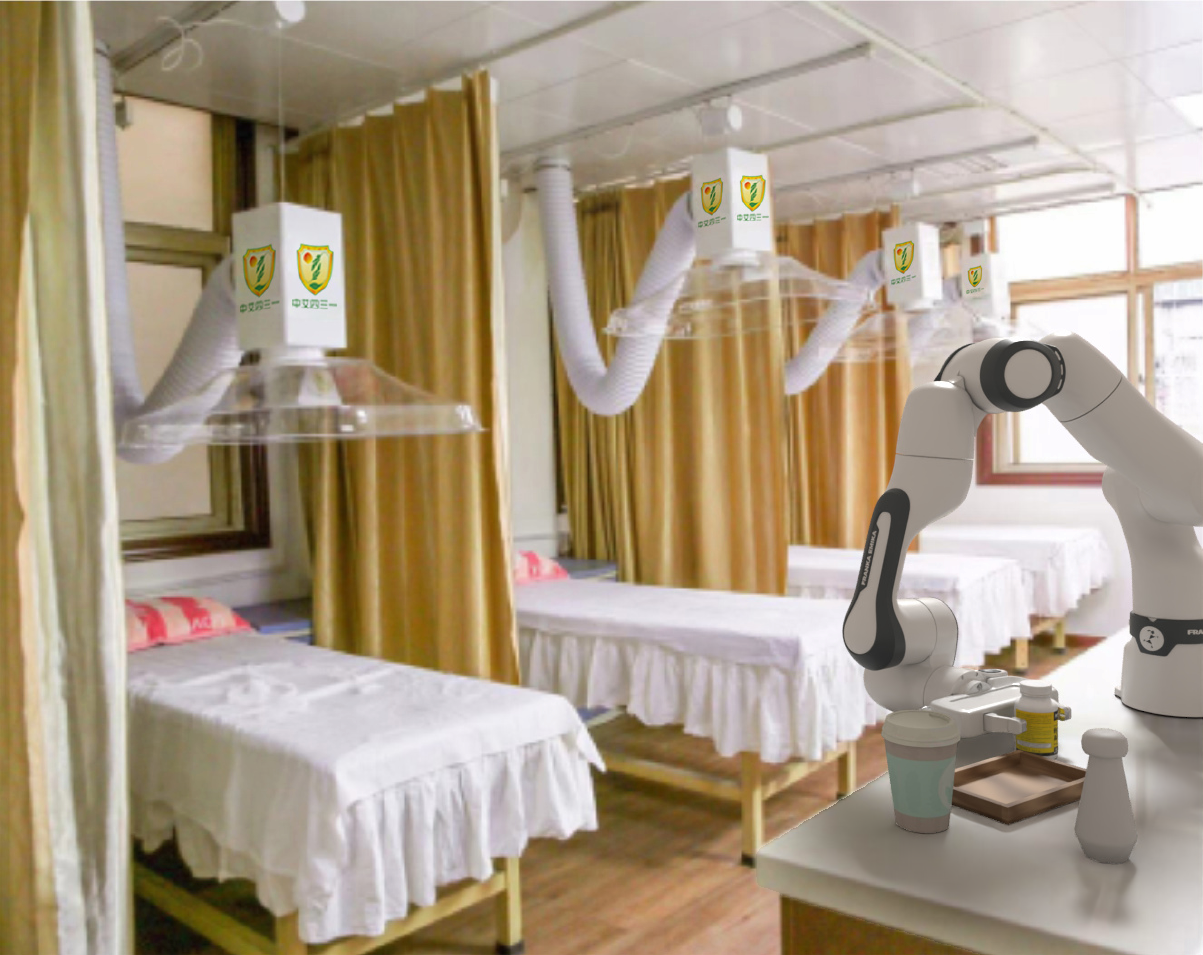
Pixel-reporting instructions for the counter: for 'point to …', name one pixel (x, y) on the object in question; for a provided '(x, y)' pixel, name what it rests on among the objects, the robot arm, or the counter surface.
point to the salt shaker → (1105, 799)
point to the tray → (1016, 786)
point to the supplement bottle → (1037, 719)
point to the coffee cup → (921, 767)
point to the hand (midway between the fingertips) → (1046, 720)
